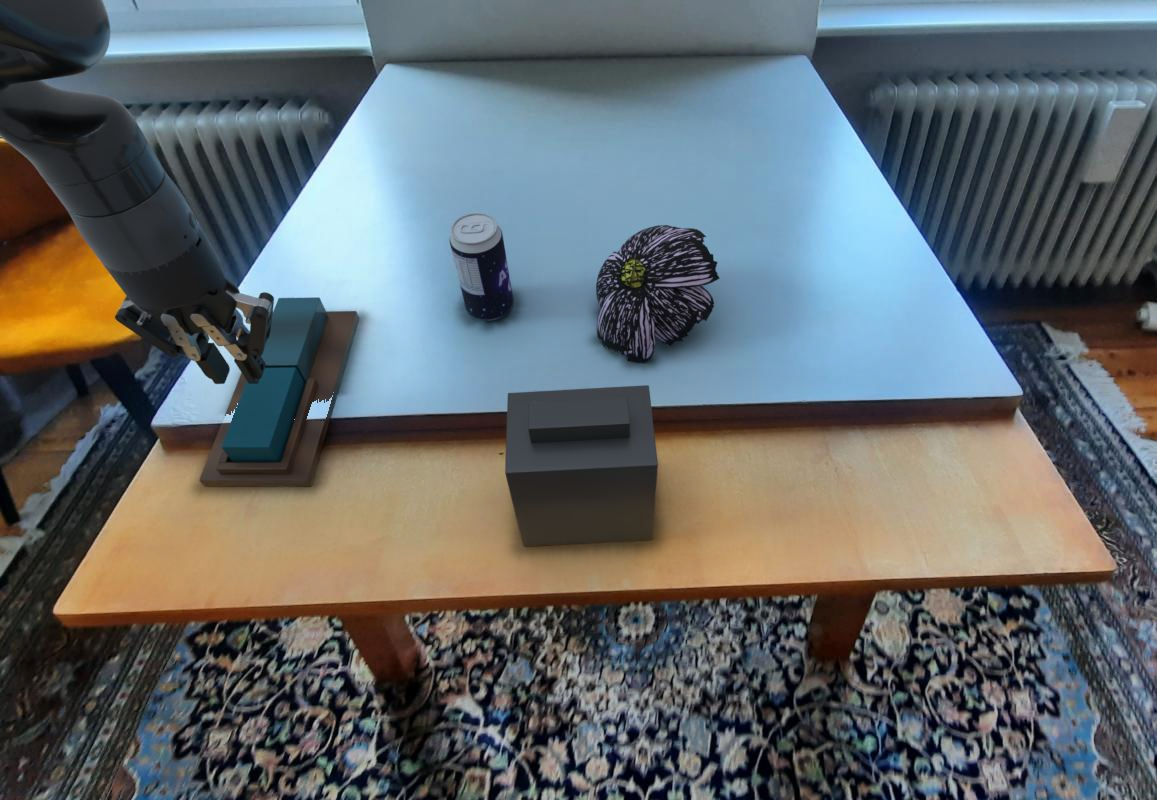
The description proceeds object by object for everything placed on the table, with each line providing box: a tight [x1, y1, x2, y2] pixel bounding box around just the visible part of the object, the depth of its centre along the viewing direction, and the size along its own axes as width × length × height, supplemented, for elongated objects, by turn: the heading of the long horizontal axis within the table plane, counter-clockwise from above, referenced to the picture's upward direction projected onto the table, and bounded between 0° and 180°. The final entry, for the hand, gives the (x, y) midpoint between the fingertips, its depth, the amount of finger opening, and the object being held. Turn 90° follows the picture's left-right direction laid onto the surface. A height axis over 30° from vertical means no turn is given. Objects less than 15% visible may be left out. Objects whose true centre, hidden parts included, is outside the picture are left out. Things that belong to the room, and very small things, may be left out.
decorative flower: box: [595, 224, 720, 364], centre depth 81 cm, size 15×12×15 cm
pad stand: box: [504, 384, 659, 547], centre depth 64 cm, size 12×8×15 cm, turn 92°
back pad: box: [222, 368, 306, 463], centre depth 75 cm, size 10×5×3 cm, turn 178°
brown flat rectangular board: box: [198, 296, 360, 487], centre depth 78 cm, size 23×11×4 cm, turn 178°
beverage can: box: [448, 212, 514, 321], centre depth 82 cm, size 6×6×12 cm
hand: (240, 376), depth 70 cm, fingers closed
